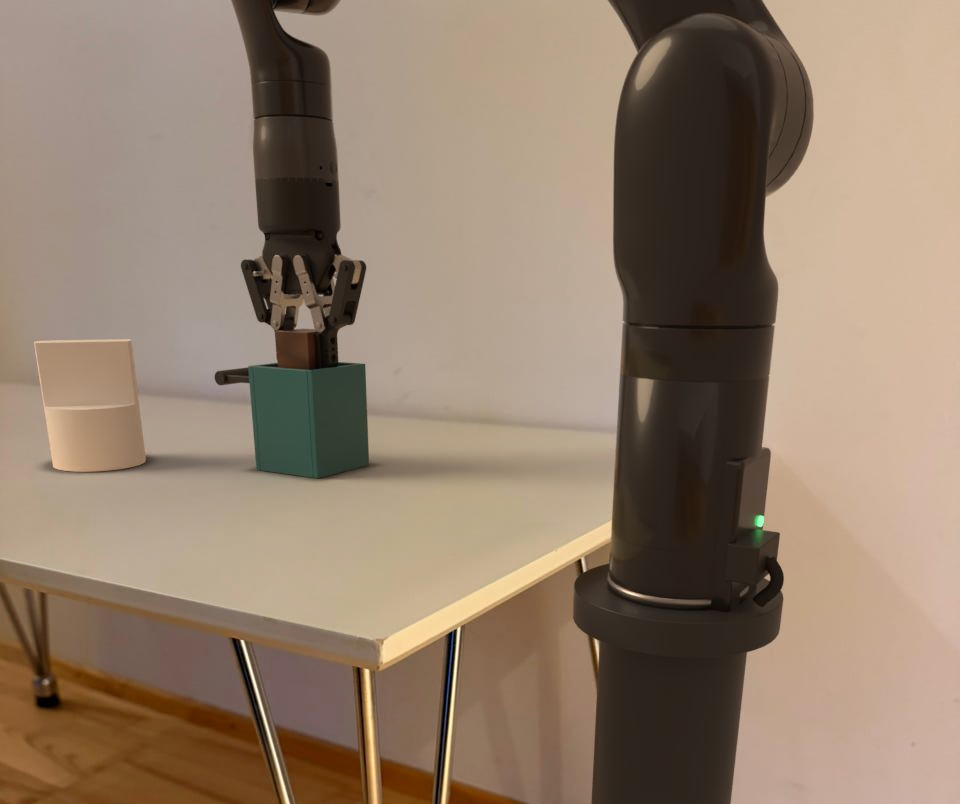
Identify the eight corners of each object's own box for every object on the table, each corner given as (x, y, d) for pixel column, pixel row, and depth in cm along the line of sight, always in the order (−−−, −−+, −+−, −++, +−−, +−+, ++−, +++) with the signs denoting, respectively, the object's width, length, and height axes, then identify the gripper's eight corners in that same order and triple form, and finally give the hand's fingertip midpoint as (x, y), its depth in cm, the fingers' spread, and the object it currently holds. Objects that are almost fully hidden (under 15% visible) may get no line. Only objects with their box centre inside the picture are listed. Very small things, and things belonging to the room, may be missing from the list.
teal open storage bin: (365, 363, 97) (263, 356, 103) (311, 370, 90) (206, 362, 97) (369, 465, 100) (270, 452, 107) (317, 478, 94) (216, 464, 100)
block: (336, 372, 96) (334, 330, 95) (309, 376, 93) (307, 332, 91) (305, 370, 98) (303, 328, 97) (278, 374, 95) (275, 330, 93)
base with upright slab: (147, 453, 106) (133, 337, 102) (144, 469, 98) (129, 343, 93) (58, 457, 104) (39, 338, 99) (47, 473, 96) (27, 345, 91)
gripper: (210, 177, 90) (226, 370, 96) (330, 170, 83) (340, 380, 89) (267, 182, 96) (279, 364, 102) (384, 176, 89) (390, 372, 95)
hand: (308, 370), depth 95 cm, fingers closed on block, 4 cm apart
